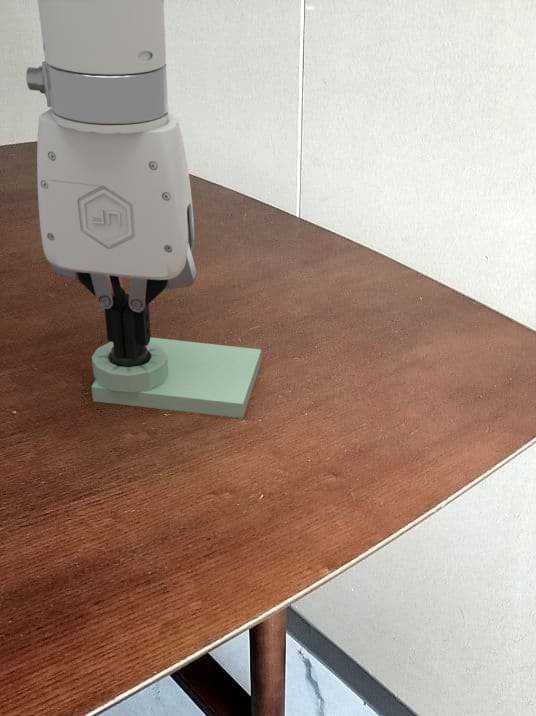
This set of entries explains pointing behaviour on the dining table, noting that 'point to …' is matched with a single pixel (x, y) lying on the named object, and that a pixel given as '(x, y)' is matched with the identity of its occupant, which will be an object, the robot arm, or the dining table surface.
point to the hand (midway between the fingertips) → (130, 350)
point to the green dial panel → (180, 378)
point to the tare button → (126, 362)
